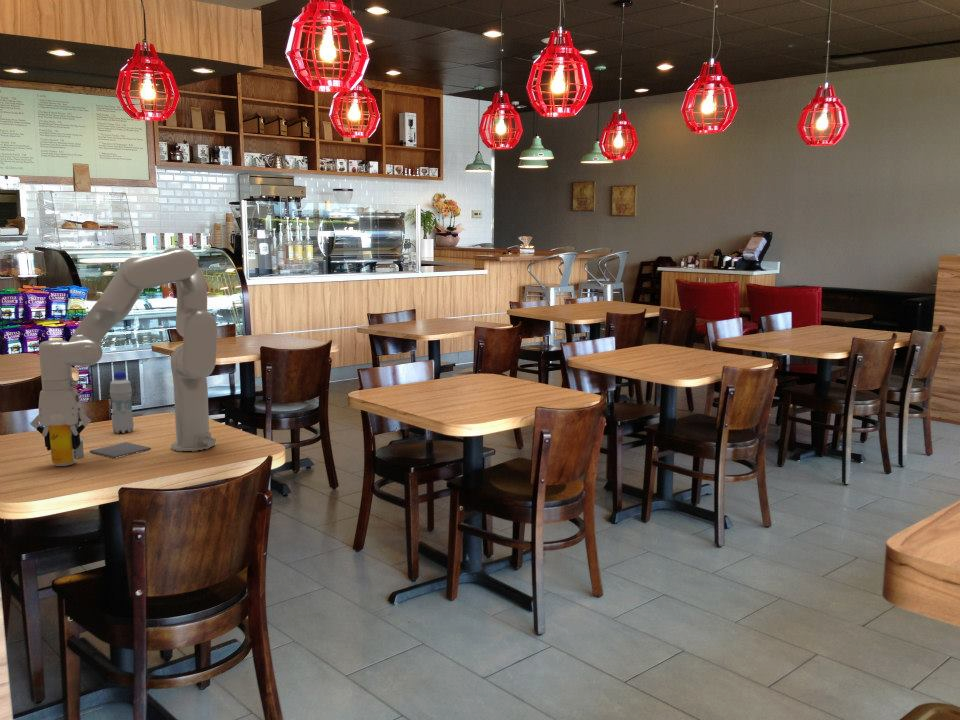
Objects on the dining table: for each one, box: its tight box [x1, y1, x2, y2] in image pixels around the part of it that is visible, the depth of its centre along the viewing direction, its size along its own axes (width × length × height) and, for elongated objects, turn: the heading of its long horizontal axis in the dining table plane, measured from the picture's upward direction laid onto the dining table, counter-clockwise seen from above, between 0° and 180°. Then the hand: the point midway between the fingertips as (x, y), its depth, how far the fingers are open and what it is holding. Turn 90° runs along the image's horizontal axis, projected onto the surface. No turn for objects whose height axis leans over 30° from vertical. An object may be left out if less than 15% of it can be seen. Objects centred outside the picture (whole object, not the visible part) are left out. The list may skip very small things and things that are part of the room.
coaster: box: [89, 441, 152, 459], centre depth 240 cm, size 12×12×1 cm
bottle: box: [109, 371, 134, 434], centre depth 262 cm, size 7×7×20 cm
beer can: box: [49, 413, 77, 467], centre depth 224 cm, size 6×6×15 cm
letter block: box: [76, 436, 85, 459], centre depth 234 cm, size 5×5×5 cm
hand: (63, 448), depth 225 cm, fingers closed on beer can, 6 cm apart
